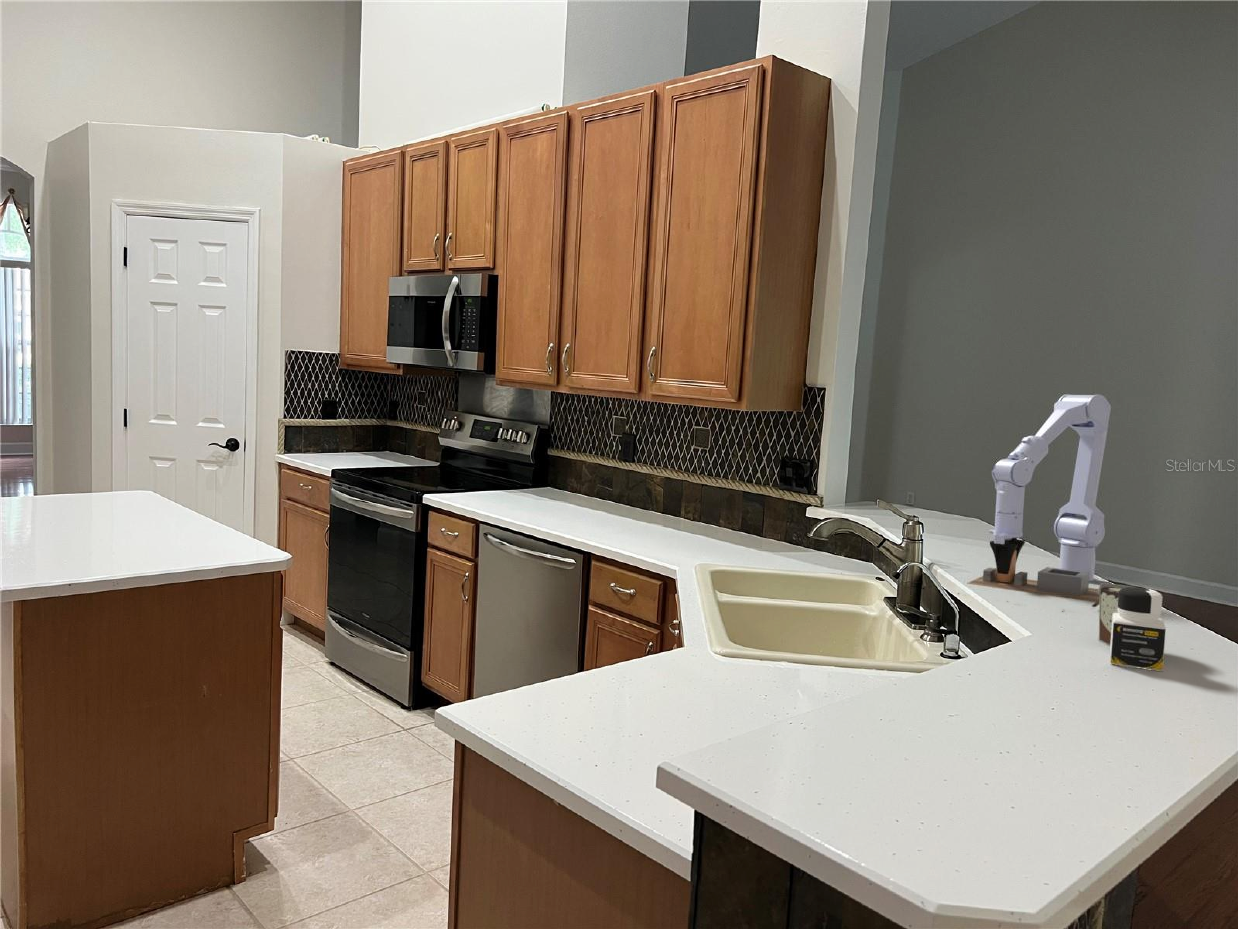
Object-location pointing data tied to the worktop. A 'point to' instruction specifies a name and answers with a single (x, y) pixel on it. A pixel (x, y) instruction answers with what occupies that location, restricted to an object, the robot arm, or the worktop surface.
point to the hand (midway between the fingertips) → (1005, 572)
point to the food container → (1107, 609)
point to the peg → (1011, 574)
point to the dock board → (1028, 586)
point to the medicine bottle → (1138, 629)
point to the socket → (1063, 581)
